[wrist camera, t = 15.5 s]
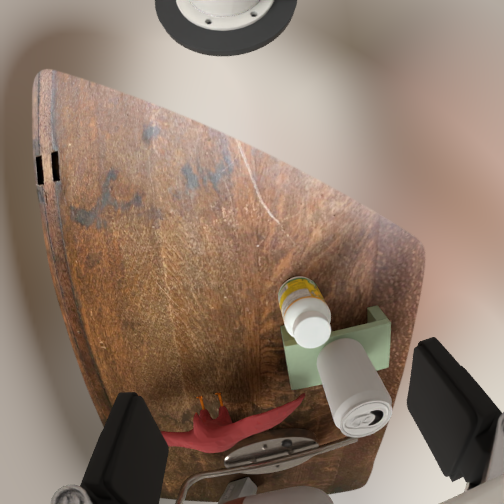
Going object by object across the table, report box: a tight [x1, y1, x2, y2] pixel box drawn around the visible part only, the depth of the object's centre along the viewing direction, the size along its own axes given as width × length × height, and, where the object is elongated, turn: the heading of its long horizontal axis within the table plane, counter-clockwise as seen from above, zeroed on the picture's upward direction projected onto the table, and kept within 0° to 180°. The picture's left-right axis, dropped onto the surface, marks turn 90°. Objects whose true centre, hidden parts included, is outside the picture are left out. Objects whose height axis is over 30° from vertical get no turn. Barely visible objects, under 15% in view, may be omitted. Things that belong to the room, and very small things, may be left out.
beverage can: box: [317, 338, 392, 438], centre depth 33 cm, size 6×6×12 cm
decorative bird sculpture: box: [160, 393, 305, 453], centre depth 43 cm, size 28×9×15 cm
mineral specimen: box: [218, 477, 257, 504], centre depth 52 cm, size 7×9×8 cm
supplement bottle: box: [278, 276, 331, 348], centre depth 37 cm, size 5×5×10 cm
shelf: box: [280, 306, 391, 390], centre depth 42 cm, size 14×8×5 cm, turn 100°
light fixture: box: [175, 428, 358, 504], centre depth 41 cm, size 11×22×34 cm
